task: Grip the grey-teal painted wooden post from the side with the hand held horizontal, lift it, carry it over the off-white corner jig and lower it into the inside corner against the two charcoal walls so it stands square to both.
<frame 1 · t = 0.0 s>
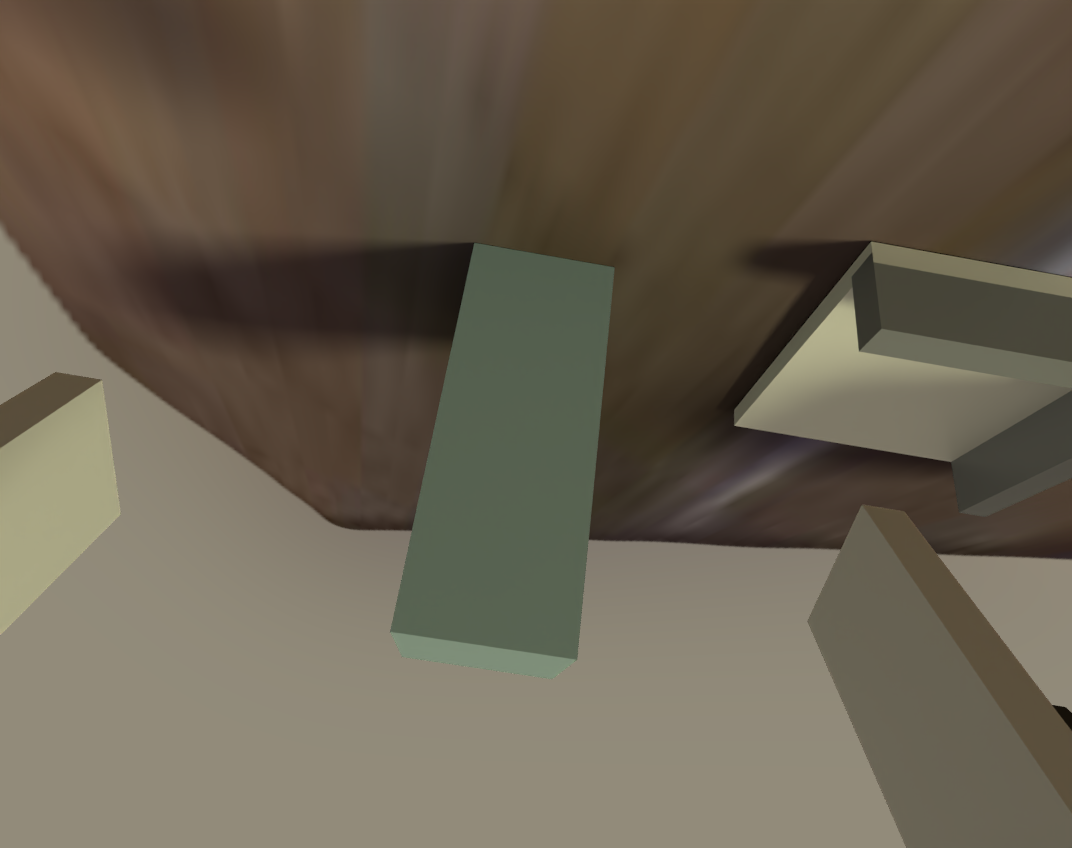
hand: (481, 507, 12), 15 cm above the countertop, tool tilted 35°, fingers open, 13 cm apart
corner jig: (932, 366, 32), on the countertop
teal post: (536, 297, 32), on the countertop
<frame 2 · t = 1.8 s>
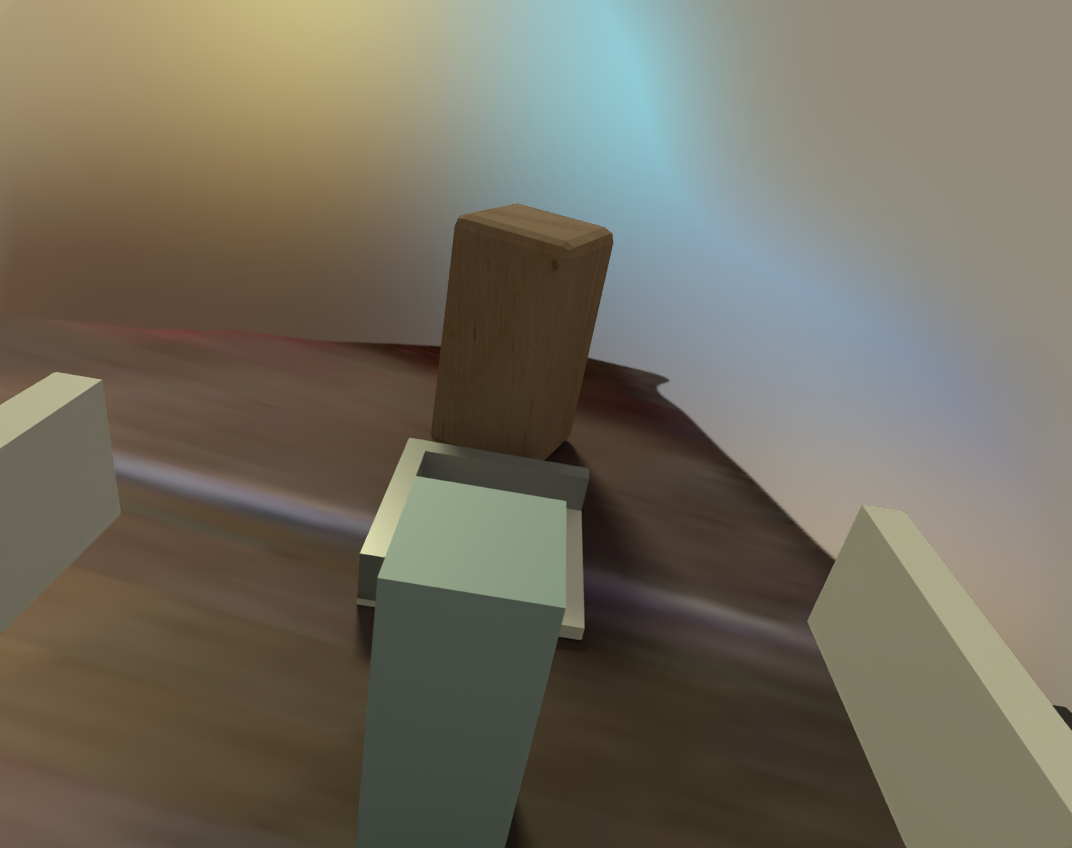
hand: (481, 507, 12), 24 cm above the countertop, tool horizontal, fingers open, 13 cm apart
wooden block: (501, 443, 63), on the countertop
corner jig: (482, 550, 48), on the countertop
teal post: (436, 809, 32), on the countertop
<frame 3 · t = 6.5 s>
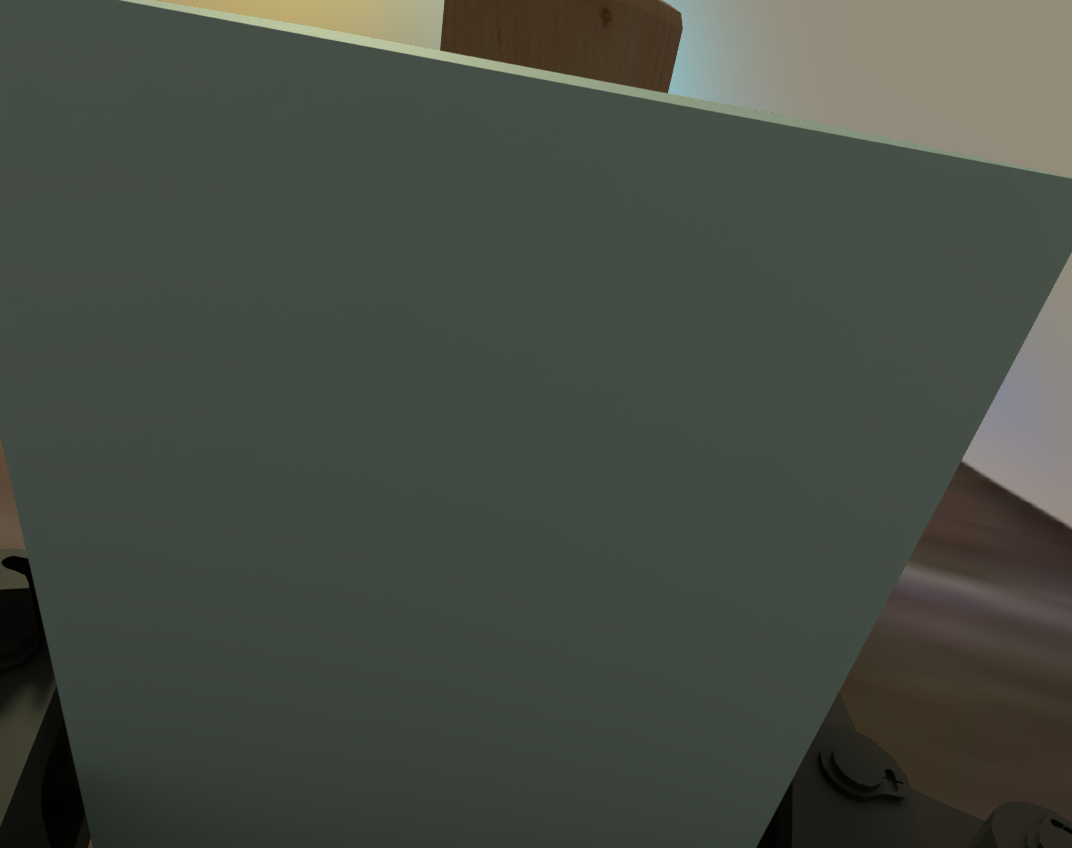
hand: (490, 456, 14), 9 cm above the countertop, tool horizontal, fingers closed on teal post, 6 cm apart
wooden block: (516, 346, 45), on the countertop
when the fingers open (11 cm above the countertop, at t = 12.8 s): teal post drops 1 cm, resting on corner jig.
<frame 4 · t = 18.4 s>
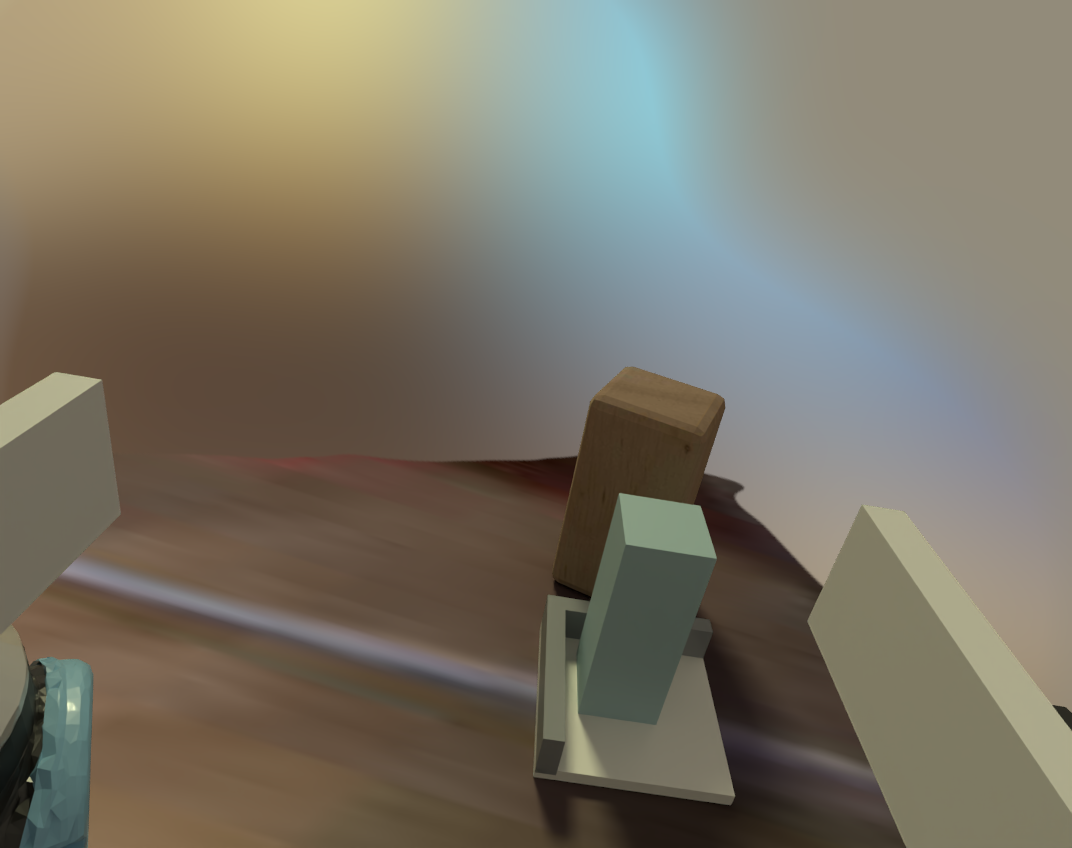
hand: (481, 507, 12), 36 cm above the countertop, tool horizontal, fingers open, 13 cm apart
wooden block: (612, 576, 68), on the countertop
corner jig: (624, 707, 54), on the countertop
teal post: (614, 687, 54), point 1 cm above the countertop, touching corner jig
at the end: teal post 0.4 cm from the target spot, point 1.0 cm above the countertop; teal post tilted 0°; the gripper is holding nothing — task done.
